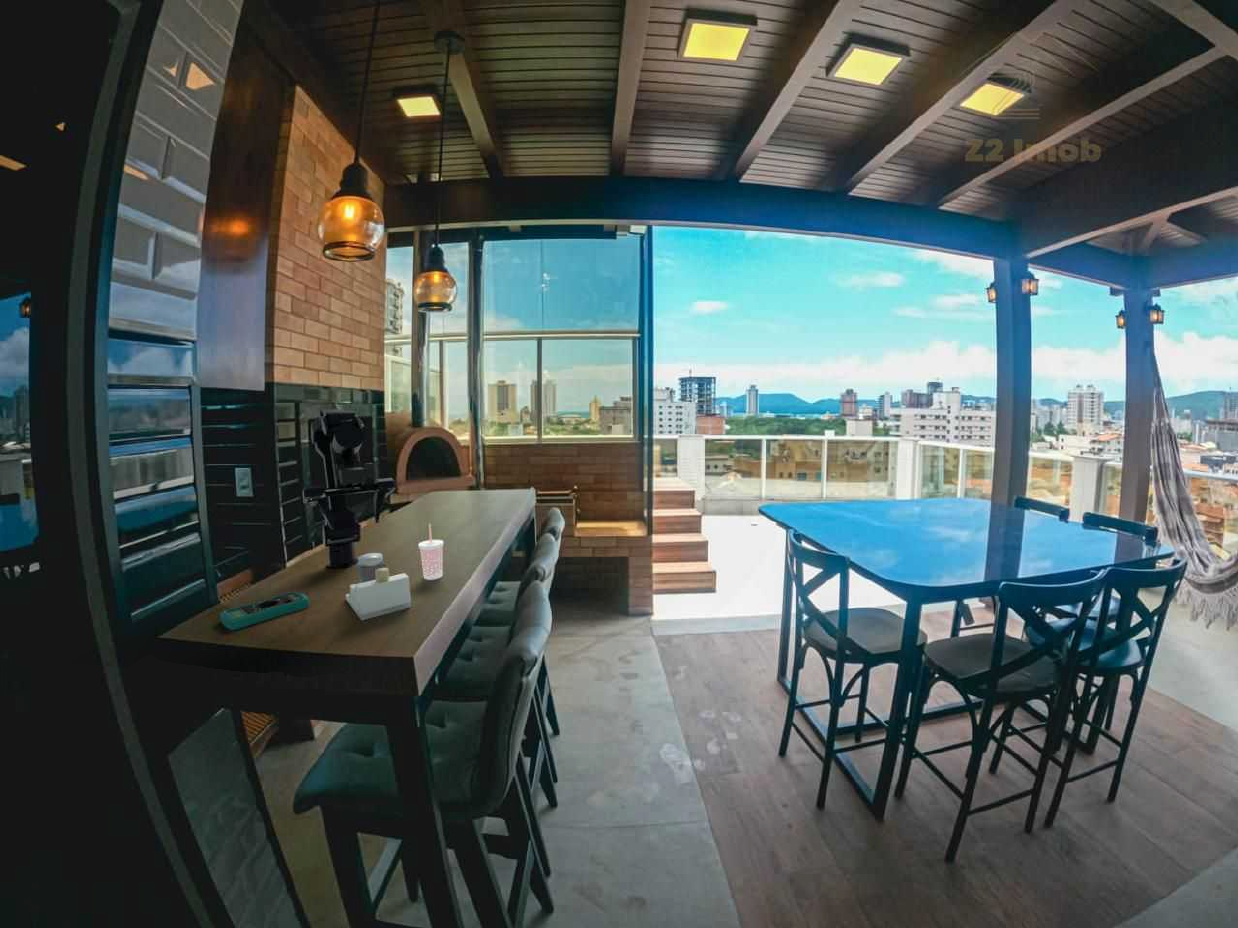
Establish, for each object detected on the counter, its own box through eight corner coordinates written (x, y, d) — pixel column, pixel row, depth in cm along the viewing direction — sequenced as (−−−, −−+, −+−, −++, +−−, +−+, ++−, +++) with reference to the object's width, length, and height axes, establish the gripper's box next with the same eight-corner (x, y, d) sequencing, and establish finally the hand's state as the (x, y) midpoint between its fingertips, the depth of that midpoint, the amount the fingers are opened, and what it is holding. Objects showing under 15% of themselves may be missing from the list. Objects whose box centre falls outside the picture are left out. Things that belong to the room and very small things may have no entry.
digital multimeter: (312, 608, 110) (311, 595, 110) (230, 633, 99) (228, 619, 98) (299, 600, 115) (297, 588, 114) (219, 623, 103) (217, 610, 103)
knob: (358, 591, 114) (355, 556, 113) (381, 586, 117) (379, 551, 116) (364, 598, 110) (361, 561, 109) (387, 592, 114) (385, 556, 112)
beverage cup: (434, 570, 132) (431, 520, 130) (450, 574, 129) (447, 522, 127) (415, 578, 127) (411, 525, 125) (431, 582, 124) (427, 528, 122)
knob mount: (346, 599, 114) (342, 560, 112) (392, 588, 120) (389, 551, 119) (361, 620, 103) (357, 577, 101) (411, 607, 109) (408, 566, 108)
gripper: (300, 454, 105) (310, 526, 102) (394, 448, 116) (405, 513, 113) (298, 468, 113) (307, 535, 111) (386, 461, 124) (396, 522, 122)
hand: (355, 526), depth 114 cm, fingers open, 9 cm apart
